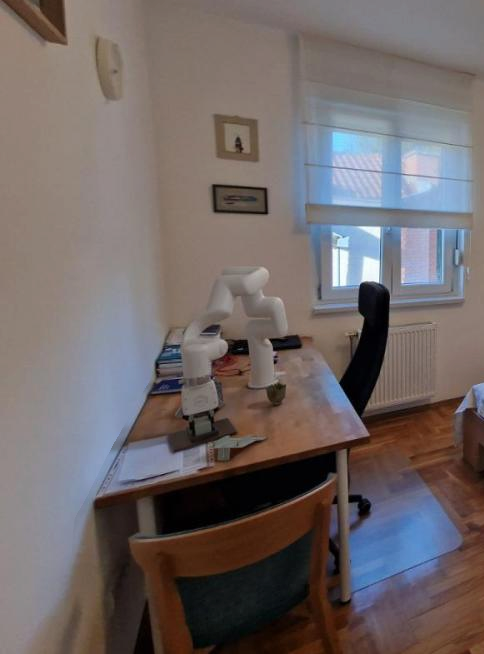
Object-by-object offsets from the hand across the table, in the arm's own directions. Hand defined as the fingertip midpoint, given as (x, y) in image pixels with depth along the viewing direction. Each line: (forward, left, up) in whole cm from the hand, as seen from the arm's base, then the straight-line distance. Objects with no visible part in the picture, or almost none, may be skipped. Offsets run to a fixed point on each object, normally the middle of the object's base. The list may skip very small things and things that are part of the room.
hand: (202, 427), depth 147 cm
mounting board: (0, 0, -3) cm, 3 cm away
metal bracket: (-6, +18, -3) cm, 19 cm away
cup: (-27, -9, -3) cm, 29 cm away
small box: (-5, -21, -3) cm, 22 cm away
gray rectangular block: (0, 0, -1) cm, 1 cm away
